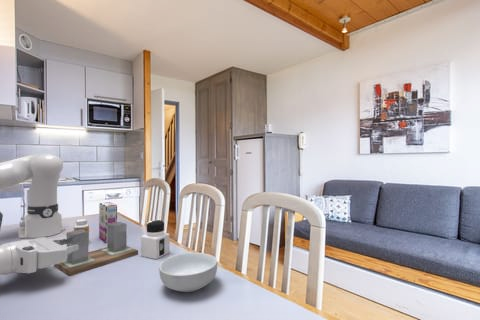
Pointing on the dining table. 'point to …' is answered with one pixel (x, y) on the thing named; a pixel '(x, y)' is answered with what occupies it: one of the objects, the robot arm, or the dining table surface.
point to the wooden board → (95, 260)
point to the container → (155, 240)
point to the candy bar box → (106, 218)
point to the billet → (116, 237)
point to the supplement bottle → (82, 226)
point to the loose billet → (82, 241)
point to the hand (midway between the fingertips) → (71, 243)
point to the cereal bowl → (188, 271)
